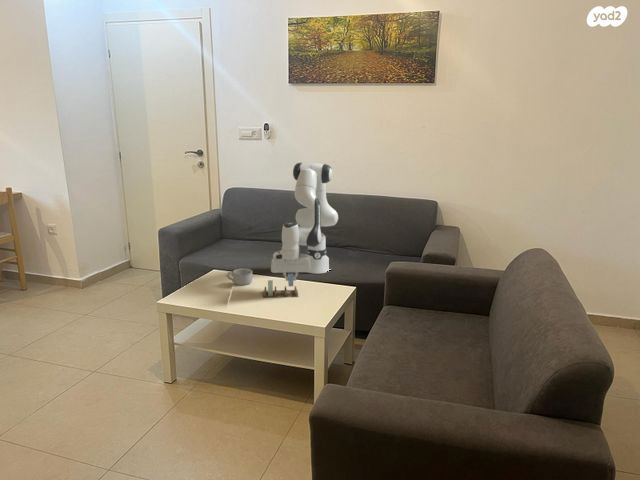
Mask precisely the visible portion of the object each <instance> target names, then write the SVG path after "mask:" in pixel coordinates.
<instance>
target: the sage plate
mask: <svg viewBox="0 0 640 480" xmlns="http://www.w3.org/2000/svg"><path fill="white" fill-rule="evenodd" d="M273 283H274V281H273V280H267V291H268V296H273V290H274V284H273Z"/></svg>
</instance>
